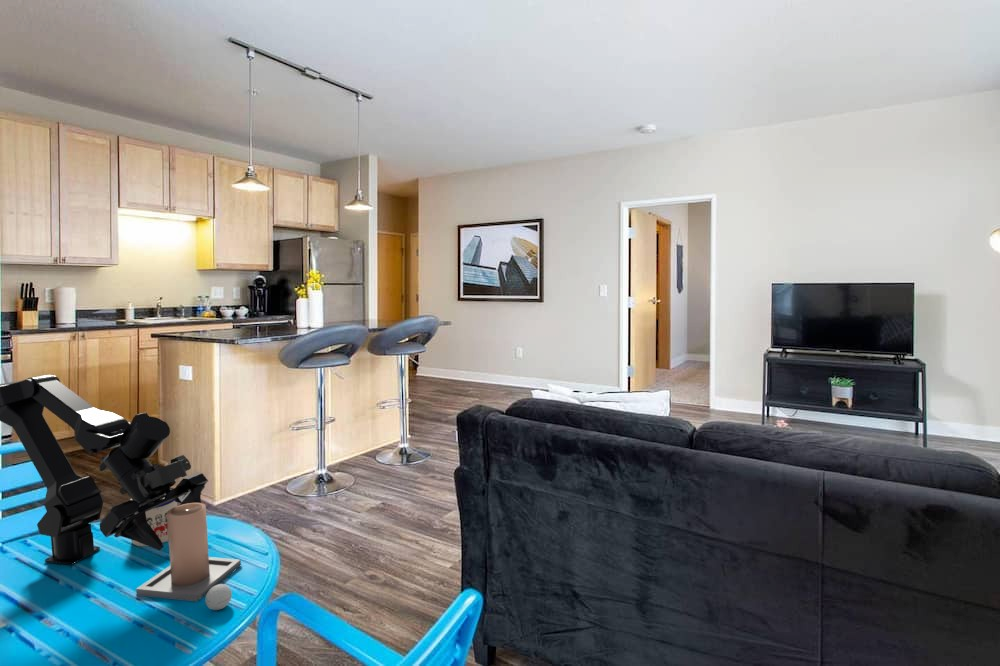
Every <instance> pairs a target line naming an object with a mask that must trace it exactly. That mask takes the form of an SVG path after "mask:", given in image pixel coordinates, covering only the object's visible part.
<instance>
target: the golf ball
mask: <svg viewBox="0 0 1000 666" xmlns="http://www.w3.org/2000/svg"><path fill="white" fill-rule="evenodd" d="M232 593H233V592H232V590H231V588H230V587H229V586H228V585H227V584H223V583H219V584H218V585H215V586H213V587H212V588H211V589H210V590H209V591H208V593H207V594H206V595H205V600H204V601H205V604H206V606H207V607H208V608H209V609H210V610H213V611H218V610H219V611H220V610H222V609H225V608H226V607H227V605H229V604H230V601H232V596H233V595H232Z"/></svg>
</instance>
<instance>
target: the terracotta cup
mask: <svg viewBox="0 0 1000 666" xmlns="http://www.w3.org/2000/svg"><path fill="white" fill-rule="evenodd" d="M207 519H208V518H207V505H206V504H205V503H202V502H201V503H187V504H183V505H180V504H179V505H177V506H176V507H174V508H172V509H170V510H169V511H168V512H167V523H168V538H169V541H168V550H169V551H168V552H169V566H170V569H171V582H172V584H173V585H176V586H187V585H192V584H195V583H198V582H200V581H202V580H204V579H205V578H206V577H208V575H209V573H210V570H209V557H210V556H209V555H210V554H209V541H208V540H209V538H208V520H207Z"/></svg>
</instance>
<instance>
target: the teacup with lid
mask: <svg viewBox="0 0 1000 666" xmlns="http://www.w3.org/2000/svg"><path fill="white" fill-rule="evenodd" d="M164 498H165V497H164ZM164 498H163V499H164ZM129 500H132V499H131V498H130V499H129ZM176 506H178V502H175V501H174V499H173V500H171V501H169V502H167V503H164V504H162V505H160V506H158V507H155V508H153V509H151V510H149V511H146V512H145V513H146V519H147V522H148V524H149V525H150V526H151V528H152V529H153V530H154V532H155V533H156V534H157V536H158V537H159V539H160V540H161V542H162V544H164V543H166V542H169V538H168V523H167V512H168V511H169V510H170V509H172V508H174V507H176ZM131 543H132V544H133V545H135V546H137V547H148V546H147V545H144V544H142V543H140V542H137V541H134V540H131Z"/></svg>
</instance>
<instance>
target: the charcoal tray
mask: <svg viewBox="0 0 1000 666" xmlns="http://www.w3.org/2000/svg"><path fill="white" fill-rule="evenodd" d="M241 563H242V562H241V559H239V558H238V559H236V558H234V559H233V558H225V557H214V556H209V570H210V573H209V575H208V577H206V578H205V579H204V580H202V581H200V582H198V583H195V584H192V585H187V586H176V585H173V584H172V582H171V569H170V565H169V566H167V567H166V568H164V569H163V570H161V571H160V572H159V573H157V574H156V575H154V576H152V577H151V578H150V579H149V580H147V581H145V582H144V583H142V584H141V585H139V586H138V587H137V588H136V589H135V592H136V596H140V597H148V598H149V597H151V598H159V599H160V598H161V599H168V600H169V599H170V600H178V601H179V600H181V601H187V602H188V601H190V602H199V601H200V600H201V599H202V598H203V597H204V596H205V597H206V594H207V593H208V591H209V590H210V589H211V588H212V587H213V586H215V585H218V584H221V582H222V581H224V580H225V579H227V576H228V575H229V574H230V573H231V574H233V573H234V572H235V571H236V570H237V569H238V567H239V566H240V565H241V566H242V564H241ZM241 566H240V567H241ZM240 567H239V568H240ZM235 569H236V570H235ZM234 570H235V571H234ZM233 571H234V572H233ZM231 574H230V575H231ZM230 575H229V576H230ZM229 576H228V577H229Z"/></svg>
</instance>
